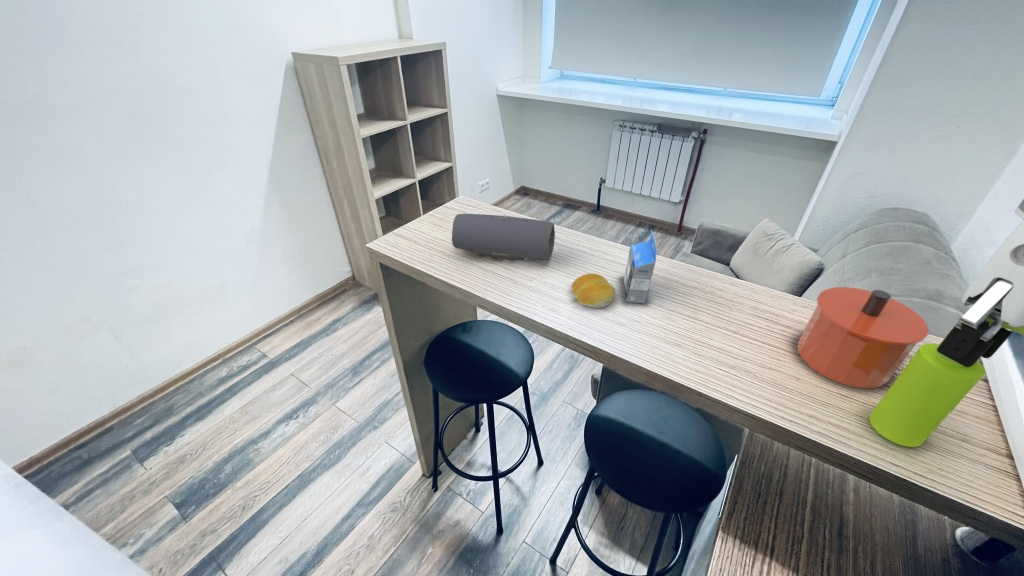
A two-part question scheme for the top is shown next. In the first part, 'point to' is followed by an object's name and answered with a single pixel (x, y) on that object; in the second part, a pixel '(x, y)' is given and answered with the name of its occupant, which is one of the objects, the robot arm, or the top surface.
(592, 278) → the bread roll
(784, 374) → the top surface
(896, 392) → the soap dispenser
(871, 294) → the pot lid
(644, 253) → the label tape box
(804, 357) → the pot
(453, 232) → the bluetooth speaker
